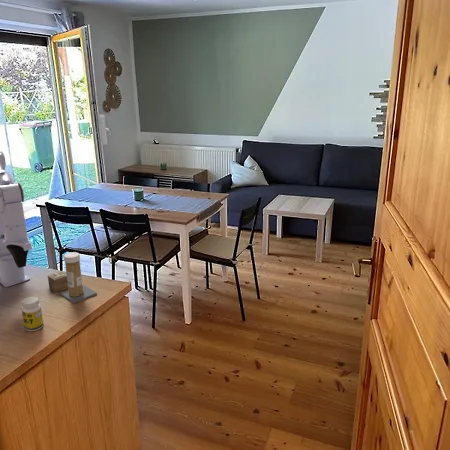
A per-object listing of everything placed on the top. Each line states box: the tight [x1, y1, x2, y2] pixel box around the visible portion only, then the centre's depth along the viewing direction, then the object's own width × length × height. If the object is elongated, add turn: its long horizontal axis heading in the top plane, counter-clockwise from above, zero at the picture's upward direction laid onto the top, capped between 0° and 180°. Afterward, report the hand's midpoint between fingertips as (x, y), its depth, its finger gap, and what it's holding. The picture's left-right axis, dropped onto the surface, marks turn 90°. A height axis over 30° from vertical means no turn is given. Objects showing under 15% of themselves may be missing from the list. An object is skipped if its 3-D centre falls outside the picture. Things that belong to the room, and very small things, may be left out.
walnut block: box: [47, 271, 68, 293], centre depth 138 cm, size 4×4×5 cm
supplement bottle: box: [21, 296, 44, 332], centre depth 115 cm, size 5×5×8 cm
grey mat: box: [60, 284, 98, 304], centre depth 134 cm, size 8×8×1 cm
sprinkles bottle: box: [63, 251, 83, 297], centre depth 131 cm, size 5×5×13 cm
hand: (21, 266), depth 129 cm, fingers closed
